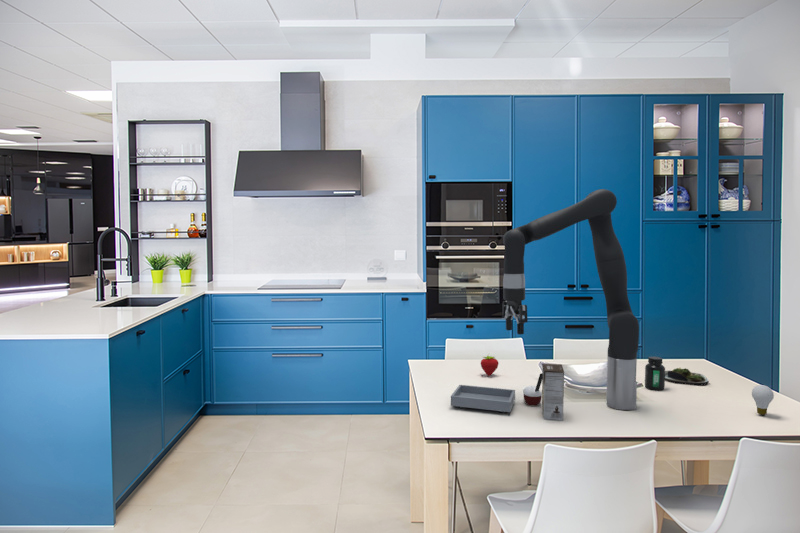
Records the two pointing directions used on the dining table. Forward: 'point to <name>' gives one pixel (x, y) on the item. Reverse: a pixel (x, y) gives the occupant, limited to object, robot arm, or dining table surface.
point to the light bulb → (762, 398)
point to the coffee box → (552, 391)
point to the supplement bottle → (655, 374)
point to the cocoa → (533, 393)
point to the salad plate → (685, 377)
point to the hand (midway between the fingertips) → (514, 332)
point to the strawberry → (489, 365)
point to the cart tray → (483, 398)
